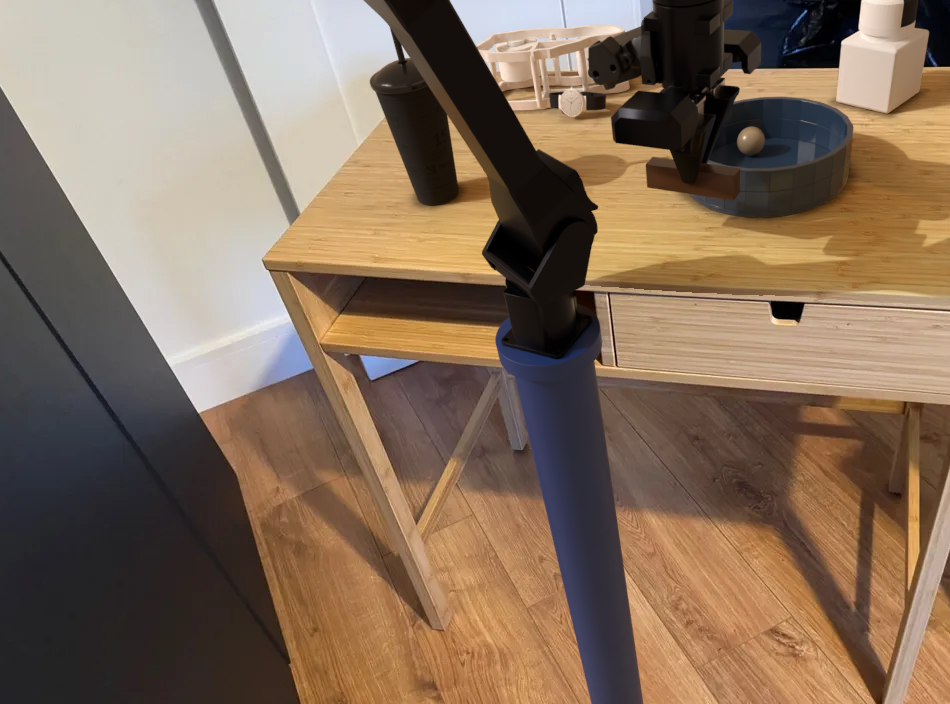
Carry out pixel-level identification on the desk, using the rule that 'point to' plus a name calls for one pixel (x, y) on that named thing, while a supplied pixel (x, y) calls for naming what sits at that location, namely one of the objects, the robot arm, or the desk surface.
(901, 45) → the medicine bottle
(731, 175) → the brown rectangular block
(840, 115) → the bowl
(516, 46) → the skeletal toy car
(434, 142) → the drinking cup
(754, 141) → the bead
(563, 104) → the watch
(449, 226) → the desk surface
